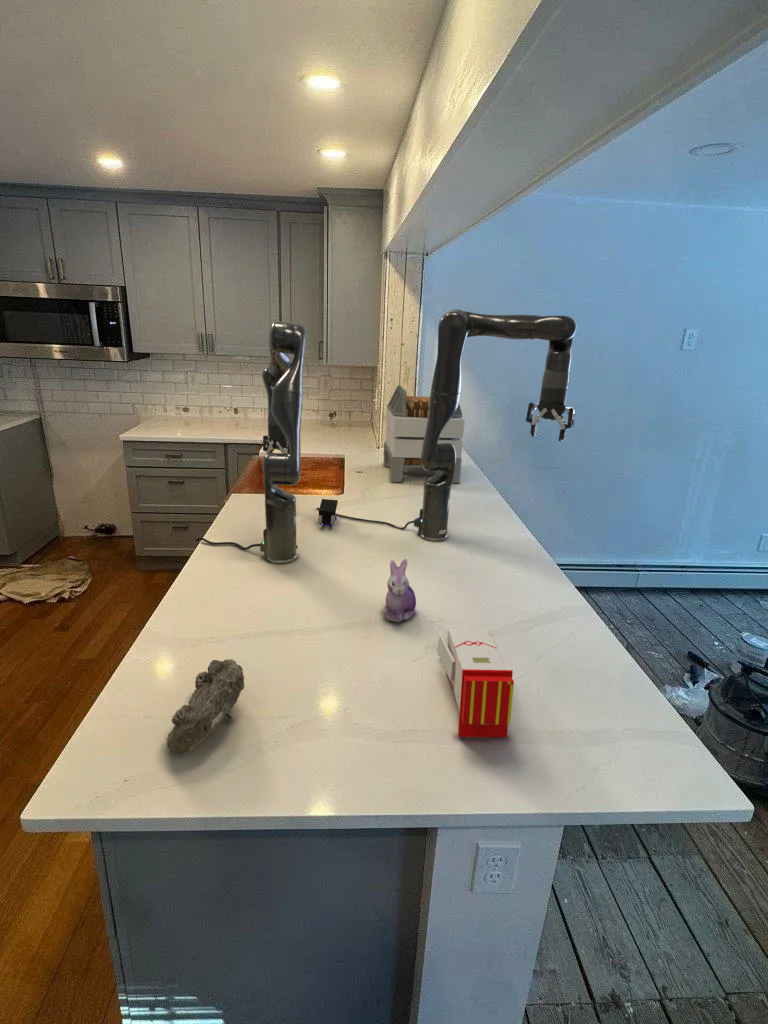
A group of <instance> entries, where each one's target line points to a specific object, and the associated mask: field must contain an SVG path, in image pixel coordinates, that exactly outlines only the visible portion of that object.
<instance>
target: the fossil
mask: <svg viewBox="0 0 768 1024" xmlns="http://www.w3.org/2000/svg"><path fill="white" fill-rule="evenodd" d="M243 670H244V669H243V667H242V665H240V664H237V662H236V661H235V660H234V659H232V658H231V659H227V658H226V659H224V660H223V661H222V660H217V659H212V660H211V661H210V663H209V665H208V666H207V671H201V672H199V673H198V674H197V675H196V676H195V680H194V684H195V685H194V687H195V689H194V690H193V693H192V694H191V697H190V698H189V700H188V704H184V705H182V706H181V707H180V709H177V710H176V711H175V713H174V715H173V716H172V718H171V723H172V724H173V727H172V730H171V731H170V732H168V734H167V738H166V741H167V742H166V745H167V749H168V750H169V751H173V752H174V753H176V754H178V753H182V752H188V751H189V752H192V751H193V750H195V748H196V747H197V746H199V744H200V743H201V742H203V741H204V740H205V739H206V738H207V737H208V736H209V735H210V734H211V733H212V732H214V730H215V729H217V727H218V726H219V724H220V722H221V721H222V720H223V719H224V718H225V716H226V717H227V719H229V720H233V717H232V715H230V714H229V710H230V709H231V708H234V706H235V704H236V703H237V702H238V699H239V697H240V695H241V693H242V691H243V690H245V689H244V688H245V675H244V671H243Z"/></svg>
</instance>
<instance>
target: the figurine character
mask: <svg viewBox="0 0 768 1024" xmlns="http://www.w3.org/2000/svg"><path fill="white" fill-rule="evenodd" d="M338 503H339V500H338V499H326V498H321V501H320V505H319V507H318V508H319V510H318V516H317V517H318V518H317V526H321V529H322V530H324V528H325V527H329V530H332V528H333V526H335V525H336V521H338V518H337V515H336V514H337V508H338Z"/></svg>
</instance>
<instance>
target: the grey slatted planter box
mask: <svg viewBox="0 0 768 1024" xmlns="http://www.w3.org/2000/svg"><path fill="white" fill-rule="evenodd" d="M407 394H408V393H407V390H406V389H404V388H403V387H402V385H399V384H398V385H397V386H396V388H395V390H394V392H393V394H392V395H391V398H390V400H389V402H388V404H387V405H386V413H385V414H386V415H385V423H386V428H385V438H384V442H383V466H384V467H388V468H389V475H388V476H389V477H388V478H389V480H390V482H391V483H402V482H403V475H404V469H405V466H406V467H407V466H411V467H412V466H413V467H415V466H416V467H417V466H418V467H422V464H421V451H422V446H423V441H424V436H425V432H426V427H427V421H428V414H429V405H430V396H415V395H414V396H413V395H412V396H411V395H407ZM464 429H465V419H464V418H463V411H462V408H461V405H460V402H459V403H458V407H457V410H456V411H455V413H454V414H453V416H452V417H451V419H450V420H449V421H448V423H447V424H446V425H445V427H444V428H443V430H442V432H441V434H440V437H439V440H438V443H451V444H452V445H453V446H454V448H455V451H456V463H455V470H454V477H453V483H452V484H455V483H456V484H459V483H461V472H462V461H463V460H462V453H463V442H464V441H463V440H462V439H463V438H464V431H465V430H464Z"/></svg>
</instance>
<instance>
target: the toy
mask: <svg viewBox="0 0 768 1024" xmlns="http://www.w3.org/2000/svg"><path fill="white" fill-rule="evenodd" d="M446 640H447V643H446V641H445V639H444V636H443V635H442V634H439V637H438V646H437V656H438V657H439V659H440V661H441V663H442V666H443V668H444V670H445V672H446V674H447V677H448V679H449V681H450V684H451V687H452V690H453V693H454V697H455V701H456V705H457V708H458V711H459V714H458V715H459V716H458V730H457V731H458V732H457V737H458V738H508V731H509V726H510V725H511V717H512V707H513V697H514V696H513V695H514V684H515V680H514V679H513V673H514V671H513V670H512V669H508V667H507V665H506V662H505V661H504V659H503V658H502V655H501V653H500V651H499V649H498V647H497V643H496V639H495V637H494V635H493V634H491V632H490V631H489V629H467V628H466V629H465V628H463V629H461V628H460V629H459V628H448V630H447V639H446Z"/></svg>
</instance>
